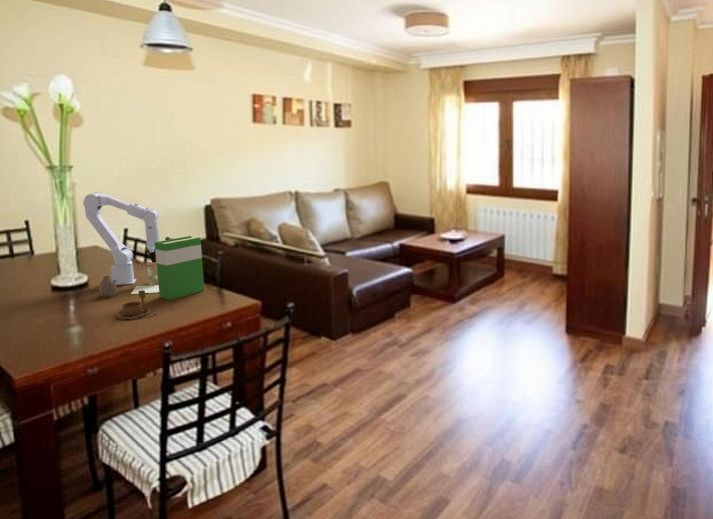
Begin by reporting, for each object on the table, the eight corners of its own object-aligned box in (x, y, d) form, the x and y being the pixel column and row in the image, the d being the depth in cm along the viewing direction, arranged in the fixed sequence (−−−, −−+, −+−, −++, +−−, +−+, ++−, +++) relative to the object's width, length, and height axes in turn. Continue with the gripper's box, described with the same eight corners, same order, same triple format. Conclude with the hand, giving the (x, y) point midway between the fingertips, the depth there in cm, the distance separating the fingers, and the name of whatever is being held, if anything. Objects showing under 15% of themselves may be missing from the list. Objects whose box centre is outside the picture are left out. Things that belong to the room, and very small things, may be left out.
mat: (130, 294, 238) (130, 293, 238) (136, 286, 251) (136, 285, 251) (169, 292, 242) (169, 291, 242) (172, 284, 254) (172, 283, 254)
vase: (121, 294, 239) (118, 275, 237) (109, 299, 232) (106, 279, 230) (108, 293, 241) (106, 274, 239) (96, 297, 235) (94, 277, 233)
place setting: (103, 318, 209) (101, 303, 208) (141, 303, 227) (140, 290, 226) (138, 323, 203) (137, 308, 202) (175, 308, 221) (174, 294, 219)
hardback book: (194, 288, 248) (190, 235, 243) (204, 290, 244) (200, 237, 238) (159, 297, 234) (154, 242, 229) (169, 300, 230) (164, 244, 225)
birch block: (149, 285, 252) (146, 264, 250) (150, 283, 257) (148, 262, 255) (160, 285, 253) (158, 264, 251) (161, 282, 258) (159, 261, 256)
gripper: (159, 238, 249) (162, 267, 252) (163, 232, 263) (166, 260, 266) (143, 239, 247) (146, 268, 250) (148, 233, 261) (150, 261, 264)
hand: (155, 264), depth 258 cm, fingers closed
